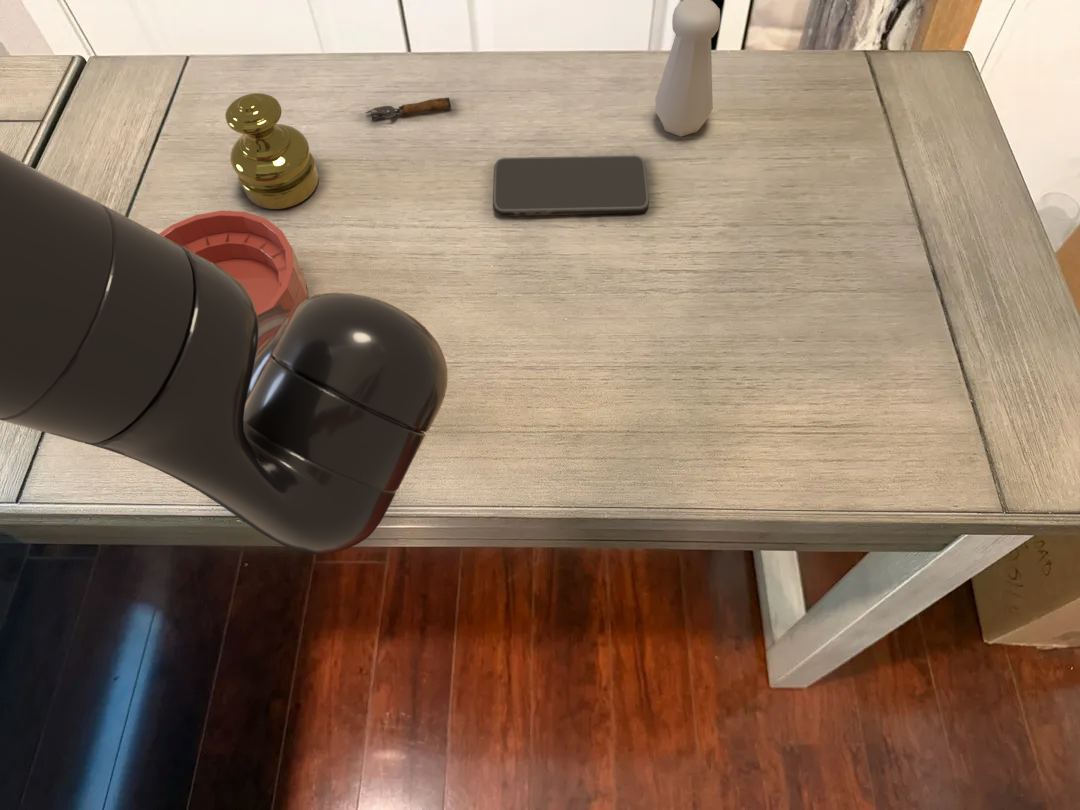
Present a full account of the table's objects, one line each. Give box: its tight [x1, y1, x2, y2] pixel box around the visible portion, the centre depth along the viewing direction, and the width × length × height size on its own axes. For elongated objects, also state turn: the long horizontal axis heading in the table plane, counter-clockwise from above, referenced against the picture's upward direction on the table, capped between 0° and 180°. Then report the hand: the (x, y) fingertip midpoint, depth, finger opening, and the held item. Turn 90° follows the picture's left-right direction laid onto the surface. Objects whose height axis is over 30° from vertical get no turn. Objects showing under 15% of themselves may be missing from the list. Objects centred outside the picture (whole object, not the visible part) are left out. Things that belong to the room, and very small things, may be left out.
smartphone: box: [492, 155, 650, 217], centre depth 79 cm, size 7×1×15 cm
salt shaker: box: [654, 0, 721, 137], centre depth 78 cm, size 6×6×13 cm
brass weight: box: [224, 92, 319, 210], centre depth 77 cm, size 7×7×10 cm
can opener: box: [365, 97, 452, 121], centre depth 85 cm, size 9×2×1 cm, turn 94°
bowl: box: [158, 210, 308, 315], centre depth 72 cm, size 14×14×5 cm
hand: (277, 350), depth 64 cm, fingers open, 5 cm apart
